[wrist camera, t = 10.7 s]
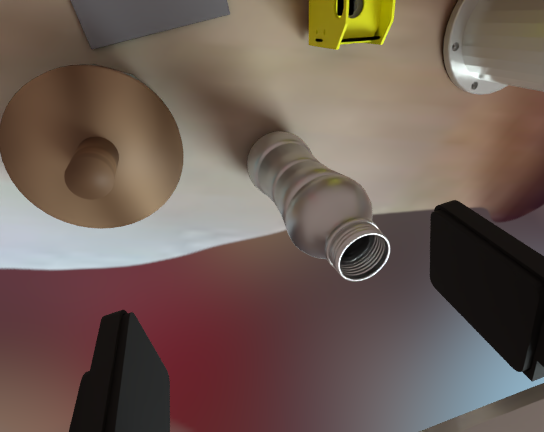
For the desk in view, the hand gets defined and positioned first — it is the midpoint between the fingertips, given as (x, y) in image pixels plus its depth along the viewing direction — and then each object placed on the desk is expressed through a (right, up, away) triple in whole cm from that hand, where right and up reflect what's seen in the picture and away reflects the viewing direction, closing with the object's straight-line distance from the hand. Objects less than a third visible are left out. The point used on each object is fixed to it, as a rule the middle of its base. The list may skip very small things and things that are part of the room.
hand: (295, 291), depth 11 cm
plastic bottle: (-1, +9, +29) cm, 30 cm away
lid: (-15, +8, +19) cm, 25 cm away
